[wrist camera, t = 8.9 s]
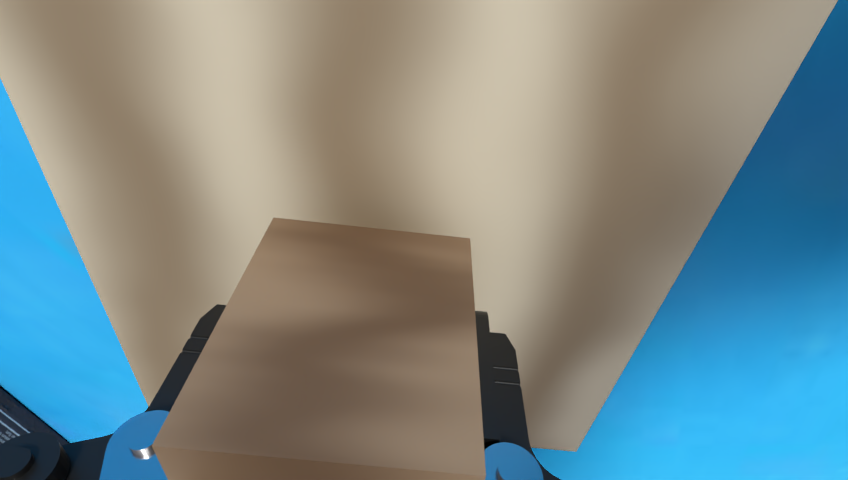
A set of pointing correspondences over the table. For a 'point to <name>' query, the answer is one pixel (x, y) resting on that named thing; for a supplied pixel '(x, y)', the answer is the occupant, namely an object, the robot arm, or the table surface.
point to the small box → (20, 420)
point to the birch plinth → (404, 152)
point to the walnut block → (337, 364)
